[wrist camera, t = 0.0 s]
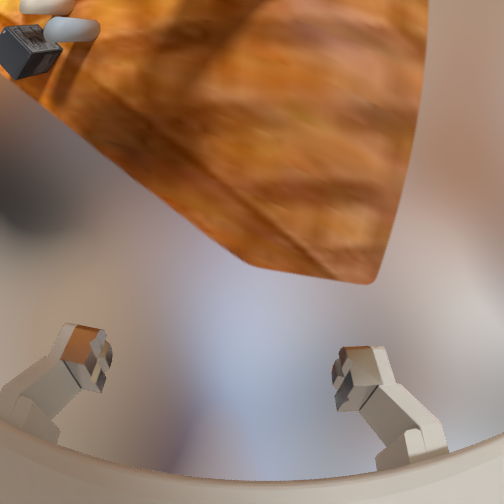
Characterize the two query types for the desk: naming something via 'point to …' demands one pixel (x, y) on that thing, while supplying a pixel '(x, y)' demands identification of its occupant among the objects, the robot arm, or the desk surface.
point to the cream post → (47, 7)
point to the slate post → (71, 30)
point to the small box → (26, 51)
